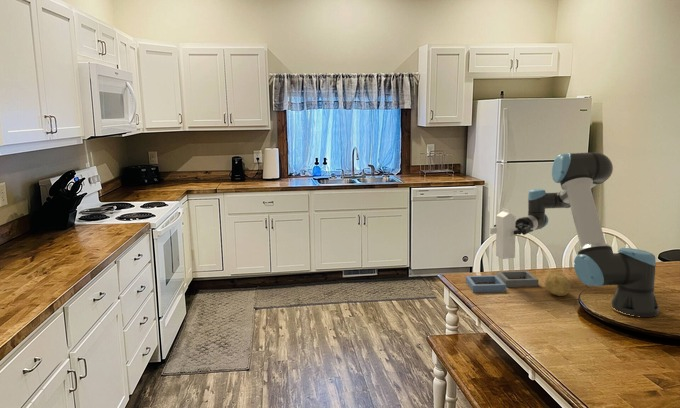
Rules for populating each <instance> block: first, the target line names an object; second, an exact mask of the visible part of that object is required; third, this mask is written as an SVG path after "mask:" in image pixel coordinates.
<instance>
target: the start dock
mask: <svg viewBox="0 0 680 408" xmlns="http://www.w3.org/2000/svg"><path fill="white" fill-rule="evenodd" d="M496 273H497V274H496V275H497V276H498V277H499V278H500V279H501V280H502V281H503V282H504V283H505V284H506V288H513V287H514V288H517V287H519V288H520V287H521V286H526V287H539V279H538V277H536V276H535V275H534V274H532V273H531V272H530V271H529V270H502V271H498V270H497V271H496ZM520 277H521V278H520ZM523 277H525V278H523ZM521 288H522V287H521Z"/></svg>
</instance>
